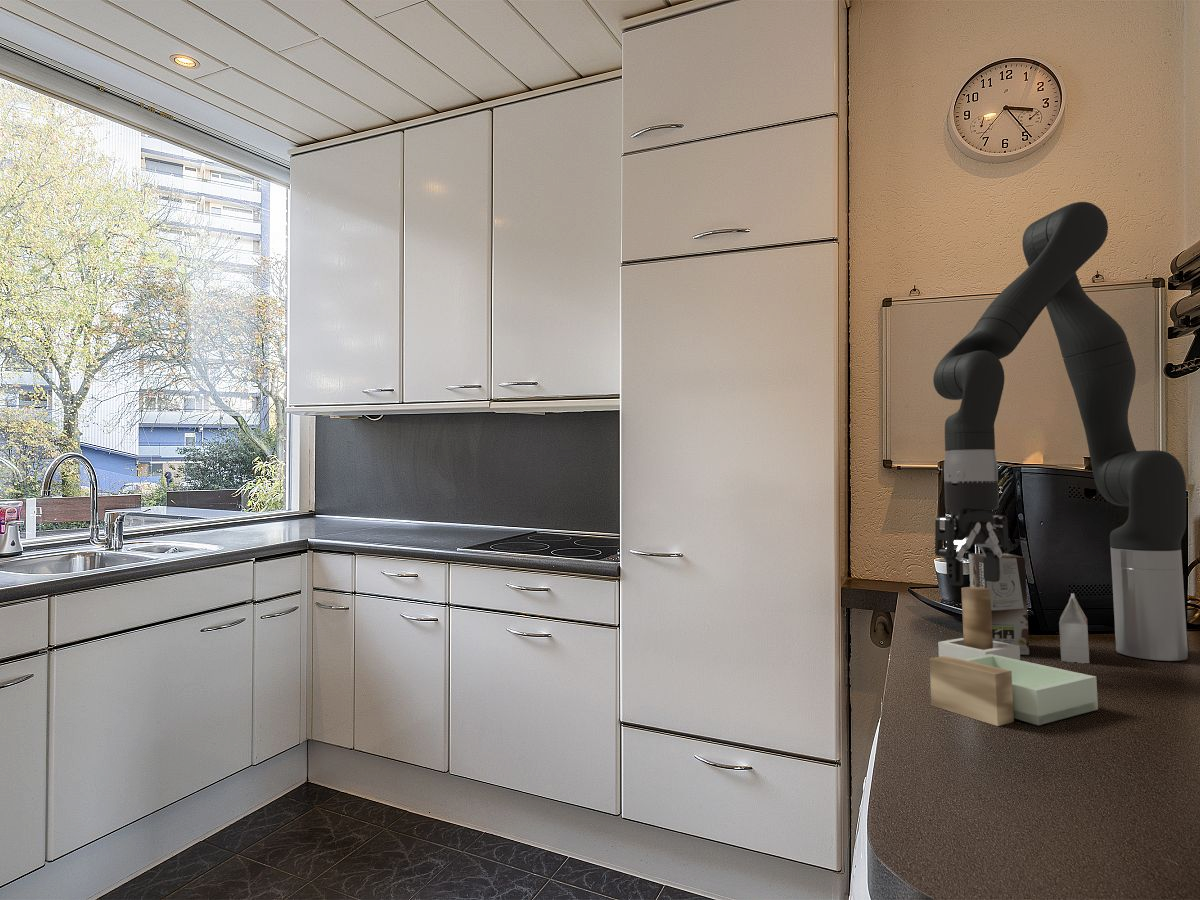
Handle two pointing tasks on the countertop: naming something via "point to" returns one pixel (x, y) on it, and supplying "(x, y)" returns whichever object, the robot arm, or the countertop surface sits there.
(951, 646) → the socket block
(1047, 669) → the tray
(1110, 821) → the countertop surface
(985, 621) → the dowel
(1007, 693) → the rectangular wooden block
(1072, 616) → the white gable carton
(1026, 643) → the coffee box
